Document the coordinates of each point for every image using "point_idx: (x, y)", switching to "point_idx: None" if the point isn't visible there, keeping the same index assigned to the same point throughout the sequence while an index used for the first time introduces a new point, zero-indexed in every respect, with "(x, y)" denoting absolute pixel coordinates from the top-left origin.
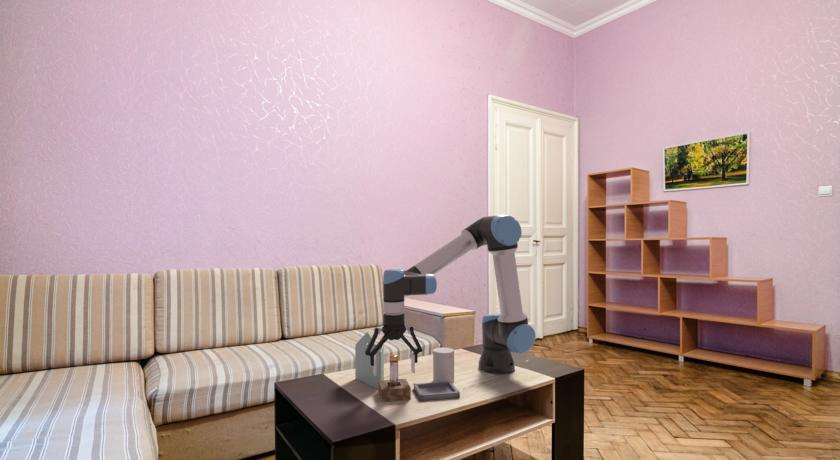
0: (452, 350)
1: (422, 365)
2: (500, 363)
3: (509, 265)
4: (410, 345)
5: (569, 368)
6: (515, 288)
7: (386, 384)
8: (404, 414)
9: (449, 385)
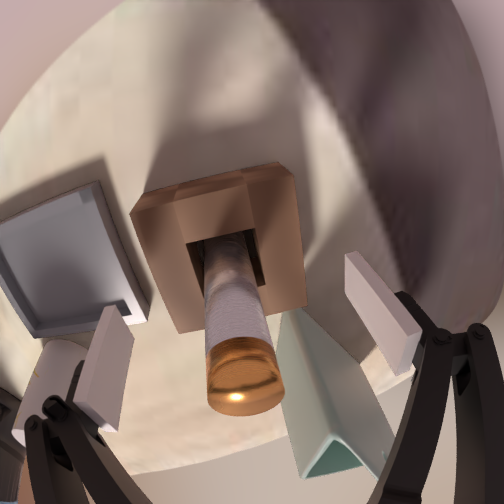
0: (20, 441)
1: (170, 443)
2: None
3: None
4: (90, 474)
5: None
6: None
7: (268, 257)
8: (164, 20)
9: (31, 316)
